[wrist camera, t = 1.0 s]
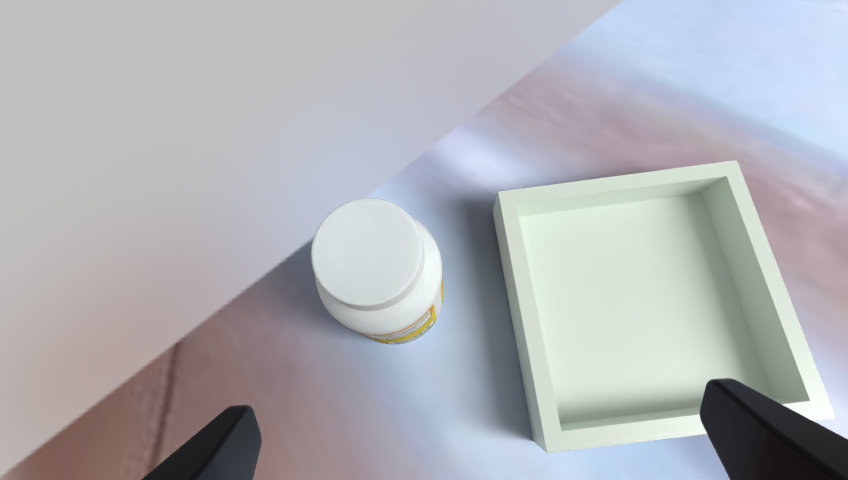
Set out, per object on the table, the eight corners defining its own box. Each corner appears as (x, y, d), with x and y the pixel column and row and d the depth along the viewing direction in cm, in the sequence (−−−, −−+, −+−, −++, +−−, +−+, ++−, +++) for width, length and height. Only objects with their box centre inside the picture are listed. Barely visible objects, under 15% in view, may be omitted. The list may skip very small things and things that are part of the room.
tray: (782, 411, 21) (836, 418, 18) (533, 441, 21) (547, 453, 18) (703, 184, 25) (736, 160, 22) (492, 211, 25) (498, 191, 22)
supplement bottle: (420, 360, 23) (402, 355, 14) (334, 321, 24) (262, 291, 14) (458, 271, 24) (464, 211, 15) (374, 237, 25) (332, 161, 16)
